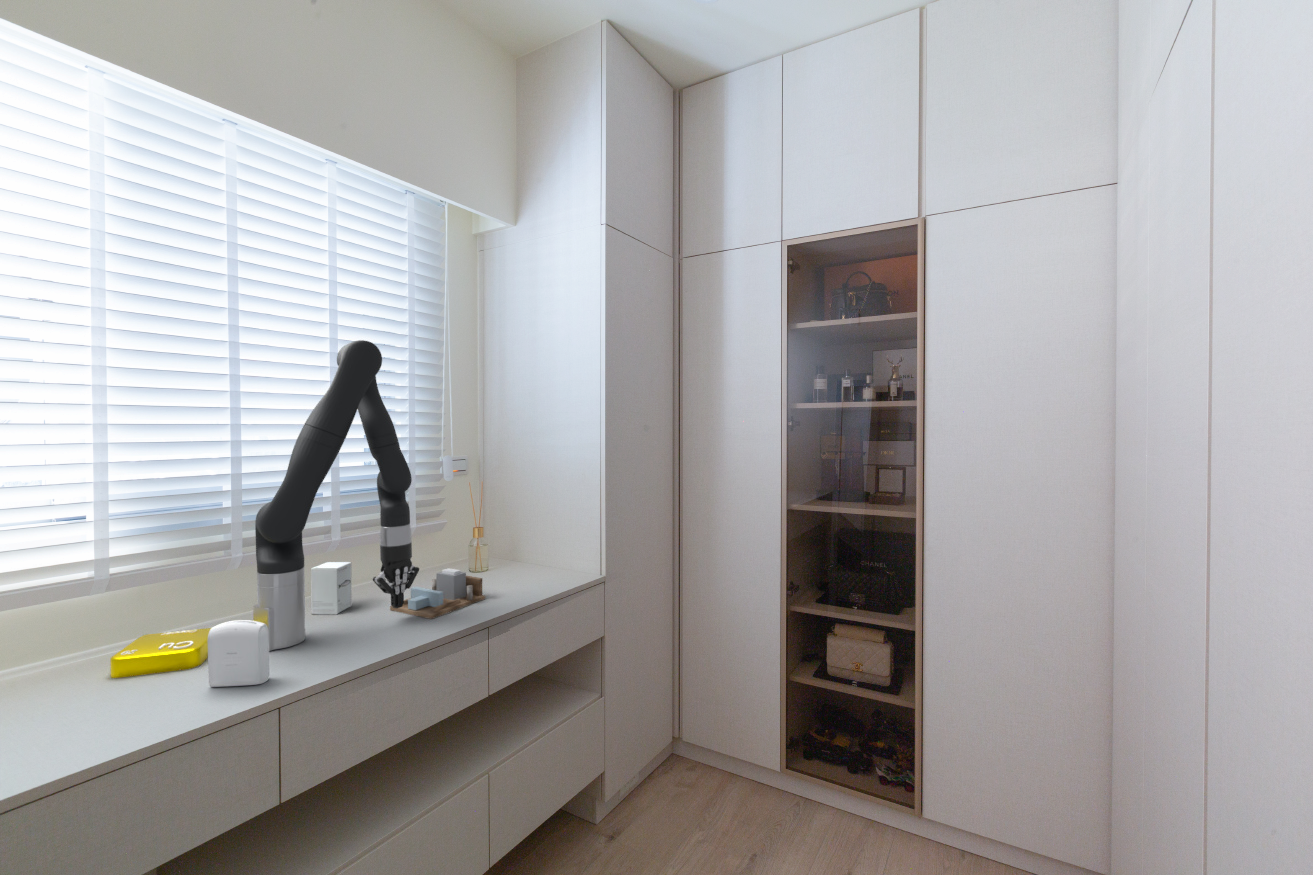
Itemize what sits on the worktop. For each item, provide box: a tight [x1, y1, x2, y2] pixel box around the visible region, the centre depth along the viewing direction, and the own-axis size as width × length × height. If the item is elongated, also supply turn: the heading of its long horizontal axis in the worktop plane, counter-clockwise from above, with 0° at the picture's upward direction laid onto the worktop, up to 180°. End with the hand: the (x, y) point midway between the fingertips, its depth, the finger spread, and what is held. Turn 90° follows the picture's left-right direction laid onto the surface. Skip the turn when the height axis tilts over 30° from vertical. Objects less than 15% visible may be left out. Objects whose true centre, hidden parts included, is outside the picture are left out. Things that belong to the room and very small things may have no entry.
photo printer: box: [207, 619, 270, 688], centre depth 112 cm, size 10×4×12 cm, turn 96°
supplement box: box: [310, 561, 353, 615], centre depth 156 cm, size 7×7×13 cm
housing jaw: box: [408, 586, 443, 610], centre depth 155 cm, size 6×11×4 cm, turn 63°
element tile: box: [110, 627, 212, 679], centre depth 123 cm, size 15×15×5 cm
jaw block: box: [435, 567, 467, 600], centre depth 165 cm, size 4×7×8 cm, turn 63°
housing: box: [389, 575, 486, 620], centre depth 161 cm, size 20×16×6 cm
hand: (397, 607), depth 149 cm, fingers closed
